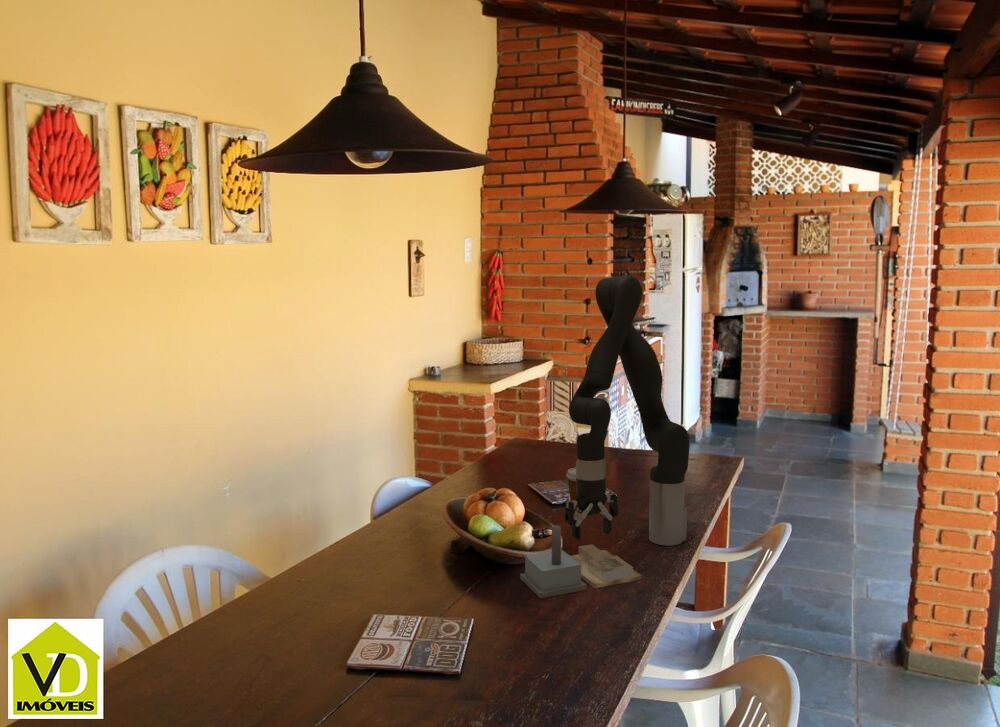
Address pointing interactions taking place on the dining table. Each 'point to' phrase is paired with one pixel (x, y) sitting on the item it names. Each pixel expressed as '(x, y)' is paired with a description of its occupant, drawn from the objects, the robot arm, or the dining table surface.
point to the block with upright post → (553, 571)
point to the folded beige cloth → (595, 581)
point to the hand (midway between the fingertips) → (592, 536)
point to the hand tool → (459, 546)
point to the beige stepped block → (604, 564)
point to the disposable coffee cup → (572, 484)
